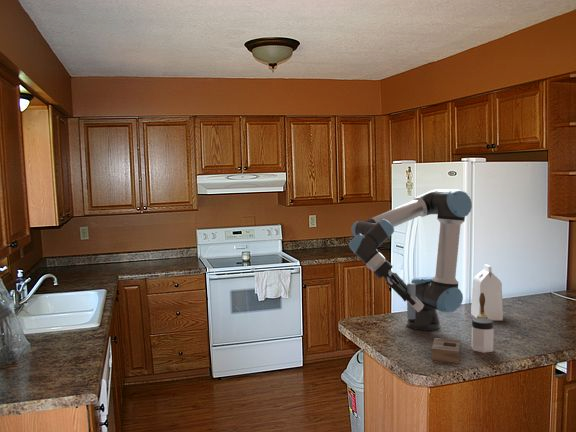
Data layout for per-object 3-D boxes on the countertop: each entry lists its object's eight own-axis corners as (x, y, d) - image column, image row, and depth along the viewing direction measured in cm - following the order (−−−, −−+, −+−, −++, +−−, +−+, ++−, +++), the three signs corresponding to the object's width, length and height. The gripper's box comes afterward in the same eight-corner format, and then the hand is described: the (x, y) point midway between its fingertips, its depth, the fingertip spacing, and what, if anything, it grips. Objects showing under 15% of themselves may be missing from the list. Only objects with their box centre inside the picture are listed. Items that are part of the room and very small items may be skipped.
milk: (502, 320, 254) (504, 267, 252) (479, 320, 254) (480, 267, 252) (493, 313, 266) (494, 263, 264) (470, 313, 266) (471, 263, 264)
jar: (497, 349, 213) (497, 320, 212) (489, 354, 207) (489, 324, 206) (475, 344, 219) (476, 316, 218) (467, 349, 213) (467, 320, 212)
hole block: (434, 348, 215) (434, 337, 215) (460, 350, 211) (460, 340, 211) (431, 359, 202) (431, 348, 201) (458, 362, 198) (458, 351, 198)
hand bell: (471, 328, 242) (472, 294, 241) (474, 323, 250) (474, 290, 248) (490, 330, 238) (491, 295, 237) (492, 325, 246) (493, 292, 244)
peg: (407, 316, 212) (407, 282, 211) (415, 317, 211) (415, 283, 210) (406, 319, 209) (406, 284, 208) (414, 319, 208) (414, 285, 207)
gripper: (377, 268, 222) (416, 309, 217) (369, 275, 207) (411, 320, 202) (389, 256, 219) (430, 298, 215) (382, 263, 204) (426, 307, 200)
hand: (421, 308), depth 209 cm, fingers closed on peg, 3 cm apart
